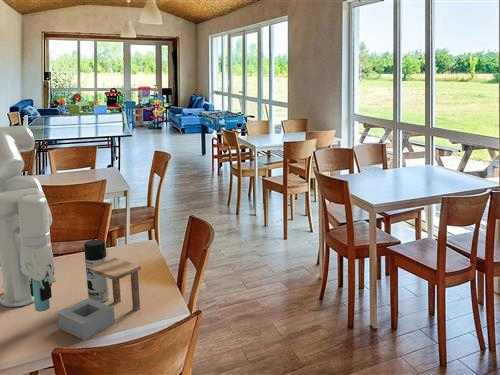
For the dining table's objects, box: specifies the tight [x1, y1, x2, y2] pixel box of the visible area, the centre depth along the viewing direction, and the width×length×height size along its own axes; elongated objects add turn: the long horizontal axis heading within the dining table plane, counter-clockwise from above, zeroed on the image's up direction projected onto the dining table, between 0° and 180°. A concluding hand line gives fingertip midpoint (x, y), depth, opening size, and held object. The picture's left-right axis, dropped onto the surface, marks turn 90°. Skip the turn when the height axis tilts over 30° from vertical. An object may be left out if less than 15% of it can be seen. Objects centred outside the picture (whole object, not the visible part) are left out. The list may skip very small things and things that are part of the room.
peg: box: [32, 275, 51, 312], centre depth 131 cm, size 4×4×12 cm
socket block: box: [57, 298, 116, 341], centre depth 133 cm, size 11×11×5 cm
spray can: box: [83, 238, 110, 304], centre depth 148 cm, size 7×7×20 cm
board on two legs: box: [89, 257, 142, 311], centre depth 141 cm, size 12×10×15 cm
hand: (41, 296), depth 132 cm, fingers closed on peg, 4 cm apart
